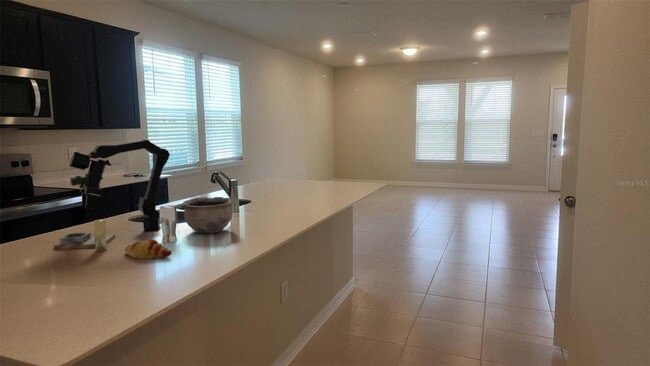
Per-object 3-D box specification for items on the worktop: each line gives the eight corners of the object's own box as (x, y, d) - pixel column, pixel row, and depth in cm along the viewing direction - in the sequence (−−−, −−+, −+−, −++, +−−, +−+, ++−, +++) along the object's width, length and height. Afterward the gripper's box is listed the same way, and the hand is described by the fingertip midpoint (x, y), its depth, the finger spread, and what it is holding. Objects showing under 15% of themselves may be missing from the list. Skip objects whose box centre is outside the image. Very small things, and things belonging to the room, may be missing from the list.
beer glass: (180, 239, 182) (179, 205, 180) (173, 243, 175) (172, 208, 173) (165, 238, 182) (164, 205, 180) (157, 243, 175) (156, 208, 173)
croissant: (120, 264, 159) (111, 249, 155) (136, 246, 167) (128, 231, 162) (167, 268, 153) (159, 253, 148) (181, 249, 161) (174, 234, 156)
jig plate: (115, 237, 184) (114, 228, 184) (102, 247, 168) (101, 237, 168) (71, 238, 181) (70, 229, 181) (53, 249, 165) (53, 239, 165)
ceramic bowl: (239, 227, 204) (238, 197, 202) (224, 238, 183) (223, 205, 181) (195, 225, 206) (194, 196, 204) (175, 237, 185) (174, 204, 183)
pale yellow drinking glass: (108, 248, 167) (106, 219, 165) (104, 251, 163) (103, 221, 162) (97, 248, 166) (95, 219, 165) (94, 251, 162) (91, 221, 161)
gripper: (71, 166, 182) (60, 200, 181) (78, 169, 168) (66, 207, 167) (98, 172, 189) (88, 205, 188) (107, 176, 175) (96, 212, 174)
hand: (84, 207), depth 179 cm, fingers open, 9 cm apart
